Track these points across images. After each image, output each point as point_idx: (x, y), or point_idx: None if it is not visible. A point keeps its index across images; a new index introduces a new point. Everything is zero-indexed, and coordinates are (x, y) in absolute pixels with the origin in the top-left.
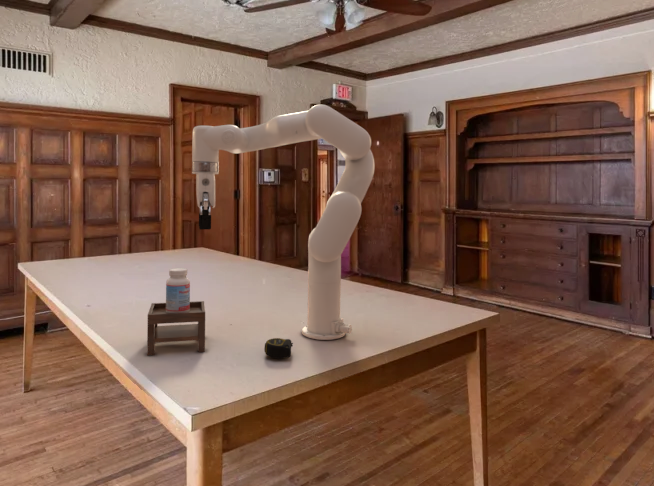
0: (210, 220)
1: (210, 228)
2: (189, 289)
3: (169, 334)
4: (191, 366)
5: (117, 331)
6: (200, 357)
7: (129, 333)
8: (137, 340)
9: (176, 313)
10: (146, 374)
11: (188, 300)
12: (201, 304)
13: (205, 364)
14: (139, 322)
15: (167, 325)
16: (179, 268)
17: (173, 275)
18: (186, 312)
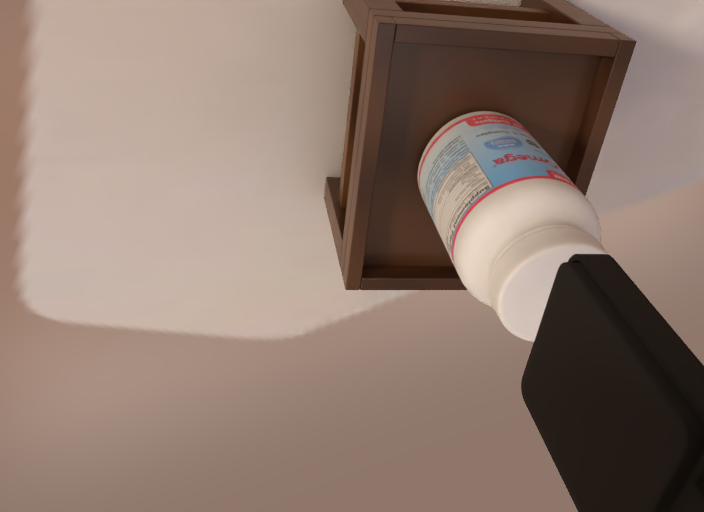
0: (685, 356)
1: (605, 260)
2: (547, 164)
3: None
4: (671, 56)
5: (169, 320)
6: (601, 15)
7: (206, 279)
8: (308, 245)
9: (589, 180)
10: (658, 194)
11: (534, 142)
12: (456, 46)
13: (681, 2)
14: (33, 259)
15: (346, 167)
16: (513, 290)
17: None
18: (596, 136)
